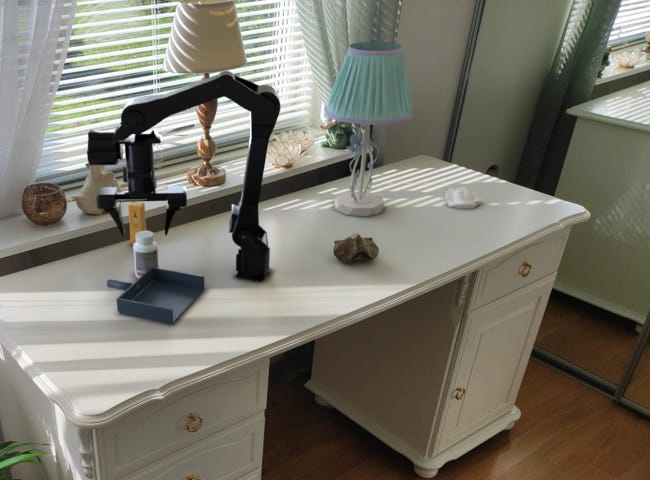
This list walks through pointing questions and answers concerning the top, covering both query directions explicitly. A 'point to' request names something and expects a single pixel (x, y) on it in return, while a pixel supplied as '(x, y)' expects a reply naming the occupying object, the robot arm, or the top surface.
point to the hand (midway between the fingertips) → (144, 235)
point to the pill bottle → (145, 253)
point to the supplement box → (136, 219)
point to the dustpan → (158, 294)
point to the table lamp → (368, 110)
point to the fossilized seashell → (355, 248)
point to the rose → (462, 198)
